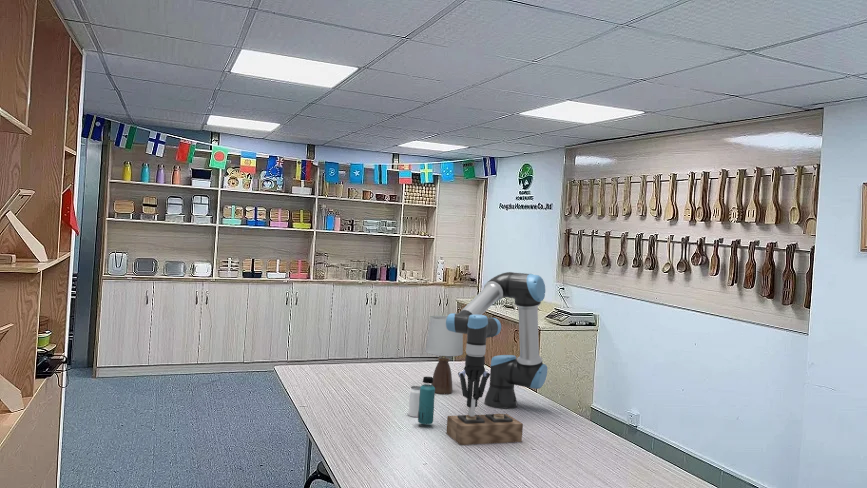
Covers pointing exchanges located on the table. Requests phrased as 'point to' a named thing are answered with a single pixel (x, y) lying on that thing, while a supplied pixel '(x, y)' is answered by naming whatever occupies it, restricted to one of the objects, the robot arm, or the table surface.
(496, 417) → the peg
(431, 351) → the lamp
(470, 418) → the peg
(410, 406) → the can
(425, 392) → the beverage bottle
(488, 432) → the walnut block
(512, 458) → the table surface
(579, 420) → the table surface
